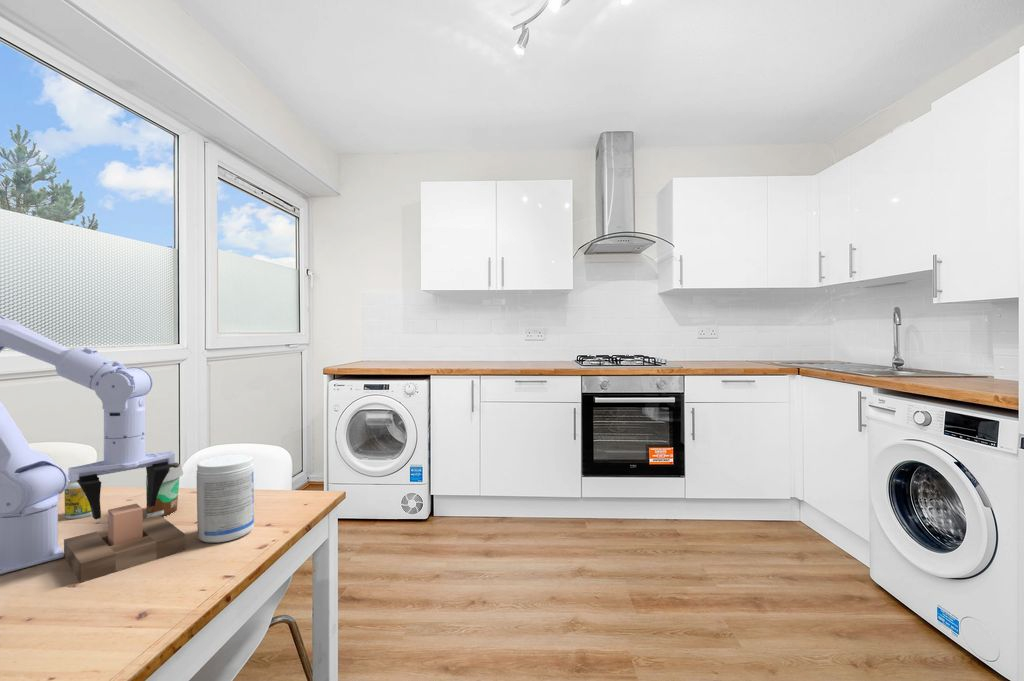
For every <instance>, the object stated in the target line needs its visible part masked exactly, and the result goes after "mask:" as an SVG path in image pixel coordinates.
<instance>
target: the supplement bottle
mask: <svg viewBox="0 0 1024 681" xmlns="http://www.w3.org/2000/svg"><path fill="white" fill-rule="evenodd" d="M63 493H64V517H65V519H68V520H75V519H76V518H77V519H83V518H86V516H87V517H90V515H91V516H92V510H91V507H90V504H89V501H88V499H87V497H86V495H85V493H84V491H83V490H82V488H81V486H80V485H79V484H78V482H77V481H70V480H69V482H68V486H67V488H66V489H65V490H64V491H63Z"/></svg>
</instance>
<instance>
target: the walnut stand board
mask: <svg viewBox="0 0 1024 681" xmlns="http://www.w3.org/2000/svg"><path fill="white" fill-rule="evenodd" d="M185 550H186V534H185V532H183V531H181V530H180V529H179V528H178V527H177V526H175V525H174V524H172V523H171V522H170V521H168V520H167V519H166V518H165V517H162V516H161V515H159V516H155V517H151V518H147V517H146V518H143V537H142V538H138V539H134V540H131V541H127V542H124V543H120V544H116V545H113V546H108V527H107V528H104V529H100V530H96V531H93V532H89V533H84V534H81V535H76V536H73V537H68V538H64V539H63V552H64V554H65V556H64V557H63V558H65V560H66V562H67V563H68V565H69V566H70V568H71V570H72V571H73V572H74V574H75V576H76V577H77V579H78V580H79V582H80V583H84V582H87V581H90V580H94V579H96V578H101V577H103V576H106V575H110V574H113V573H117V572H120V571H123V570H125V569H130V568H132V567H135V566H138V565H139V566H140V565H141V564H146V563H148V561H149V562H151V561H155V560H158V559H162V558H164V557H167V556H171V555H174V554H177V553H180V552H183V551H185Z"/></svg>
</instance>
